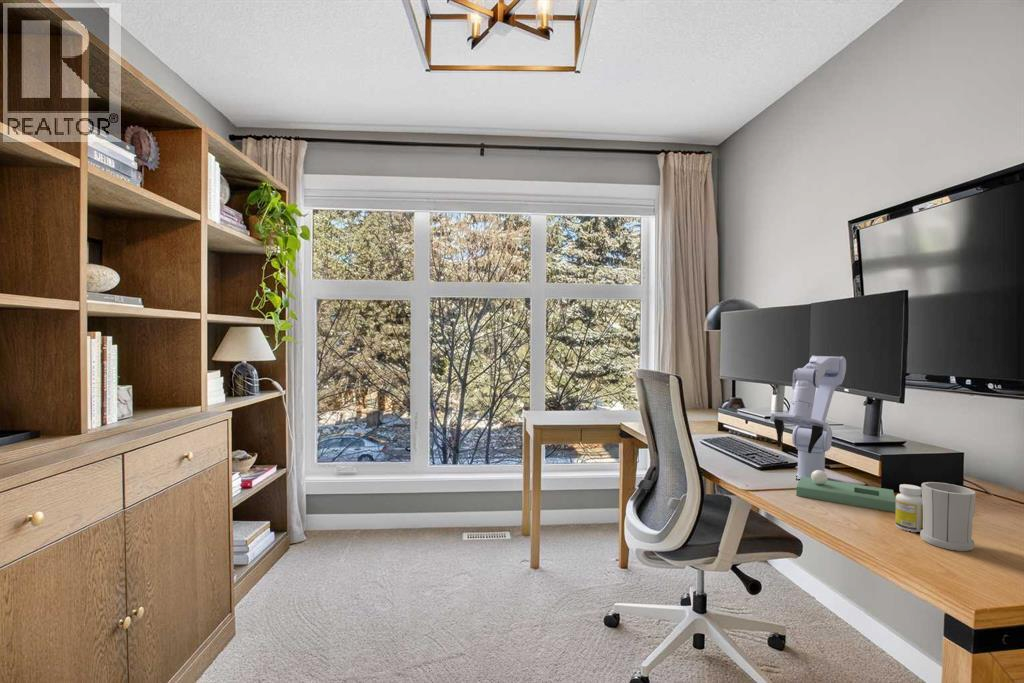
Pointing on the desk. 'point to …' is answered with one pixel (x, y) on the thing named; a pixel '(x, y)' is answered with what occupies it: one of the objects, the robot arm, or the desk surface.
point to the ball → (819, 477)
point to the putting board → (847, 494)
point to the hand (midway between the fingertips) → (793, 448)
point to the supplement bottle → (909, 508)
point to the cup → (948, 516)
